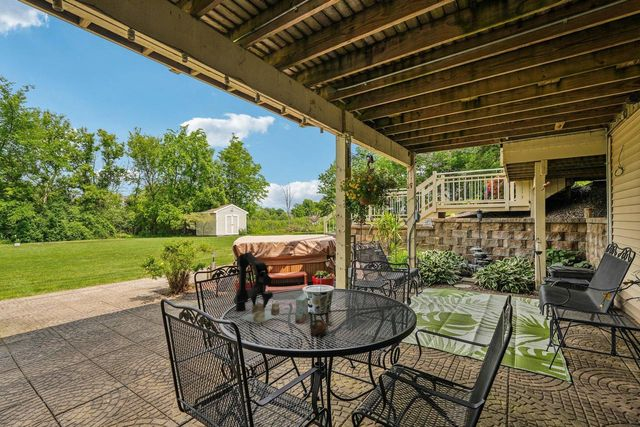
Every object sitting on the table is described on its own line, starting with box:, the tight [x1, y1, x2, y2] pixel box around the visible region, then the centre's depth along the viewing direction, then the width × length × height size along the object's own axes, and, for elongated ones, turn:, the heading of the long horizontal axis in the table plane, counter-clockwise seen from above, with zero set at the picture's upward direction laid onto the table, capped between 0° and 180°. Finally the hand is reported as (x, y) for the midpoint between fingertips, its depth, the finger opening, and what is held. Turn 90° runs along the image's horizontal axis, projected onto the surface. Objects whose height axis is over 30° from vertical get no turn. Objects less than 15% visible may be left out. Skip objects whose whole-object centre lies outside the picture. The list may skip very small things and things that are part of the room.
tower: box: [270, 302, 280, 317], centre depth 198 cm, size 4×4×8 cm
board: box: [238, 309, 282, 324], centre depth 195 cm, size 18×22×1 cm
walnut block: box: [251, 302, 266, 314], centre depth 200 cm, size 6×6×6 cm
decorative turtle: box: [309, 318, 328, 337], centre depth 168 cm, size 10×15×8 cm, turn 17°
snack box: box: [294, 292, 310, 324], centre depth 194 cm, size 21×6×15 cm, turn 168°
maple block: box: [253, 311, 265, 324], centre depth 186 cm, size 5×5×5 cm
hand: (259, 306), depth 186 cm, fingers open, 9 cm apart
